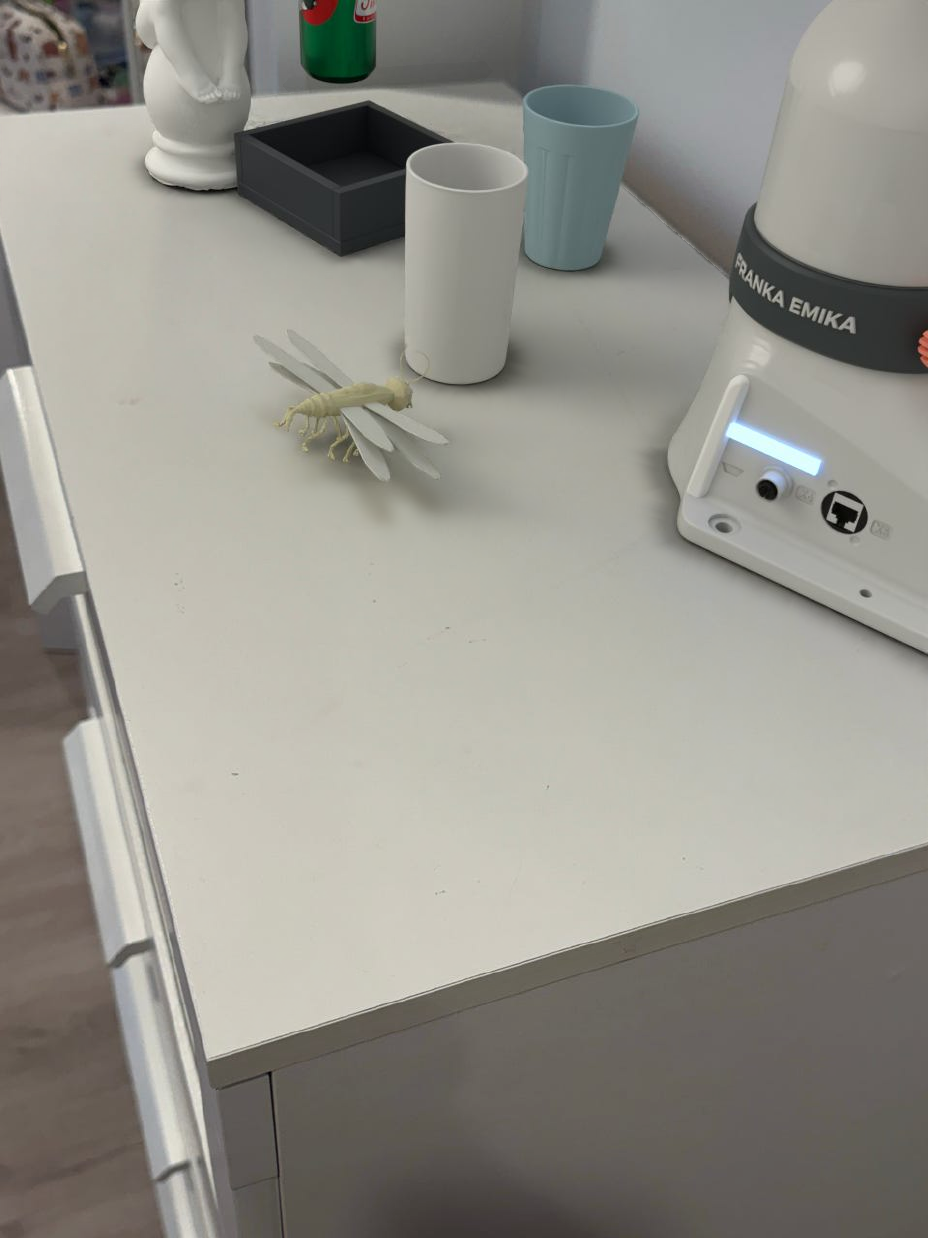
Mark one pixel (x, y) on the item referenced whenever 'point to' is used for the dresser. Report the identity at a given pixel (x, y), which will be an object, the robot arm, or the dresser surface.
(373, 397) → the toy
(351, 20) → the soda can
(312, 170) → the bin
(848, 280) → the robot arm
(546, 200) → the cup
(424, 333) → the mug
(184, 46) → the cherub figurine
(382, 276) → the dresser surface
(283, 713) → the dresser surface
